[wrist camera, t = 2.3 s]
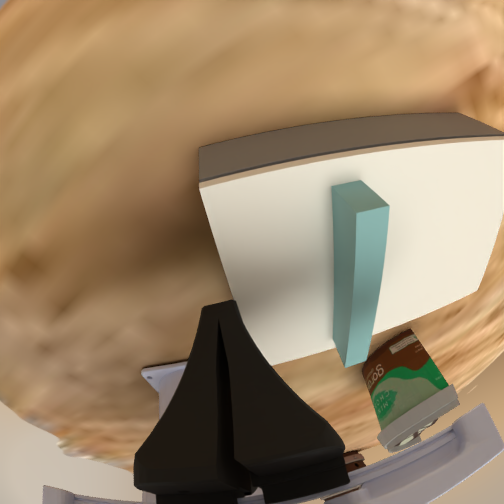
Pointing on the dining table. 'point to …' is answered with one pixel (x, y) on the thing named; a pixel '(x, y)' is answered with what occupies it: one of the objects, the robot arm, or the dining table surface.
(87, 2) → the dining table surface
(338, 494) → the flowerpot
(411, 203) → the lid
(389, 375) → the food container
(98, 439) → the dining table surface
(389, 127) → the grey sliding-lid box
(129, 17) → the dining table surface
